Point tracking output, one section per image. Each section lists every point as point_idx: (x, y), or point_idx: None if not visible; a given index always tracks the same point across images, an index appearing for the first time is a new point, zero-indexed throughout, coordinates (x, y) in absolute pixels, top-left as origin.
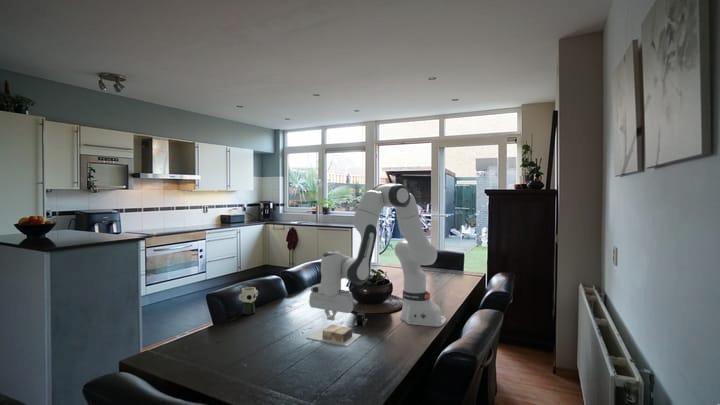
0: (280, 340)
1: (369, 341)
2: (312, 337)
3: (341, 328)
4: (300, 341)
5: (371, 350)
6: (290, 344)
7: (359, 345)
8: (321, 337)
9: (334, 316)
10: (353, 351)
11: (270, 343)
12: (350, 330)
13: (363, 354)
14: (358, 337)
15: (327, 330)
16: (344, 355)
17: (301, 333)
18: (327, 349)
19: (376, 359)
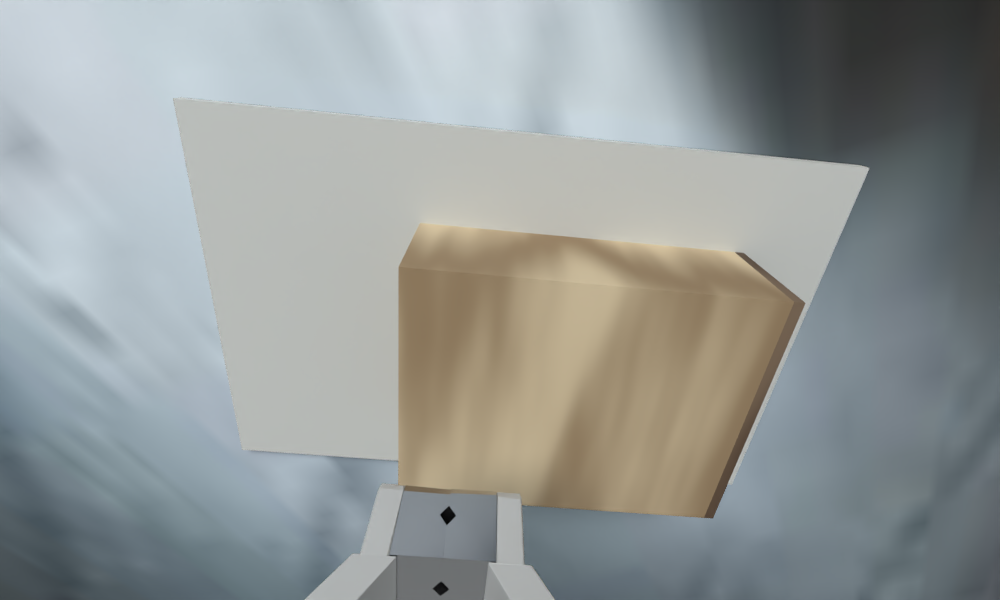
0: (73, 535)
1: (972, 302)
2: (299, 431)
3: (627, 367)
4: (247, 505)
5: (969, 476)
6: (218, 566)
7: (846, 422)
8: (390, 405)
9: (522, 560)
10: (794, 530)
11: (62, 591)
12: (771, 350)
13: (886, 547)
14: (828, 244)
15: (459, 481)
16: (728, 592)
17: (89, 350)
18: (561, 555)
19: (992, 580)
